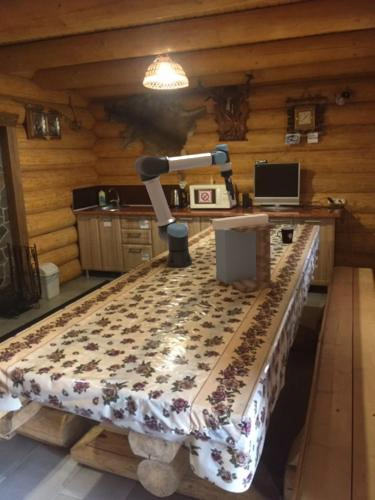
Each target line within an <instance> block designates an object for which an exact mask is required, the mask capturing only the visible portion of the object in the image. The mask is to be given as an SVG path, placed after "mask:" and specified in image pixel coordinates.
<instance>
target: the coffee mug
mask: <svg viewBox="0 0 375 500" xmlns="http://www.w3.org/2000/svg"><path fill="white" fill-rule="evenodd" d="M294 230H295V228H294V227H291V226H286V227H285V226H284V227H281V228H280V230H279V231H277V232H276V235H277V237H278V238H279V239H280V240H281V241H282V244H284V245H285V244H286V245H289V244H292V243H293V239H294ZM279 233H280V234H281V237H280V236H279Z"/></svg>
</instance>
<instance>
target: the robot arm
mask: <svg viewBox="0 0 375 500" xmlns="http://www.w3.org/2000/svg"><path fill="white" fill-rule="evenodd" d="M232 165H233V163H232V161H231V157H230V150H229V148H228V144H226V143H221V144H218V145H215V147H214V150H210V151H205V152H202V153H193V154H186V155H177V156H170V157H168V156H167V155H162V156H158V155H155V156H154V155H142V156H140V157H138V158H137V159H136V160H135V164H134V171H135V172H136V174H137V175H138V177H139V179H140V181H141V183H143V184H144V185H145V187H146V190H147V193H148V196H149V199H150V201H151V204H152V208H153V209H154V213H155V216H156V219H157V221H158V222H157V223H156V225H157V226H156V227H157V228H158V229H157V233H158V237H159V238H160V239H161V241H163V242H166V243H167V244H168V245H167V246H168V255H167V258H166V266H167V267H169V266H170V267H169V268H176V267H178V268H185V267H189V266H192V265H193V259H192V255H191V253H190V251H189V250H190V249H189V248H190V247H189V231H188V226H187V225H186V224H184V223H180V222H179V223H177V221H176V220H177V219H176V218H175V217H173V216H172V213H171V210H170V208H169V205H168V201H167V198H166V195H165V193H164V190H163V187H162V184H161V181H160V178H161V175H166V174H169V173H170V172H174V171H182V170H189V169H196V168H202V167H203V168H204V167H211V166H218V167H219V173H220V176H221V178H224V185H225V190H226V196H227V199H228V202H231V206H235V205H237V200H236V195H235V194H236V192H235V188H234V185H233V180H232V178H231V176H233V175H234V173H233V169H232Z"/></svg>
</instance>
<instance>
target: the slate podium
mask: <svg viewBox="0 0 375 500" xmlns="http://www.w3.org/2000/svg"><path fill="white" fill-rule="evenodd" d="M214 242H215V243H214V246H215V247H214V250H215V273H216V279H218V280H219V281H221V282H222V283H224V284H226V285H227V284H231V281H236V280H242V279H248V278H254V277H256V231H252V232H244V233H240V232H237V231H234V230H231V229H229V228H227V229H219V230H216V229H214Z"/></svg>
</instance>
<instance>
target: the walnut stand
mask: <svg viewBox="0 0 375 500" xmlns="http://www.w3.org/2000/svg"><path fill="white" fill-rule="evenodd" d="M229 229H231V230H234V231H237V232H240V233H244V232H252V231H256V277H254V278H248V279H242V280H236V281H231V283H230V285H231V287H233V288H234V289H235V290H238V291H240V292H241V293H247V292H253V291H259V290H265V289H269V288H276V287H277V282H276V281H274V280H273V279H271V278H272V277H271V276H272V274H271V272H272V271H271V269H272V268H271V267H272V266H271V262H272V261H271V230H273V229H277V224H276V223H274V222H270V221H268V224H260V225H252V226H244V227H236V228H229Z"/></svg>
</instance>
